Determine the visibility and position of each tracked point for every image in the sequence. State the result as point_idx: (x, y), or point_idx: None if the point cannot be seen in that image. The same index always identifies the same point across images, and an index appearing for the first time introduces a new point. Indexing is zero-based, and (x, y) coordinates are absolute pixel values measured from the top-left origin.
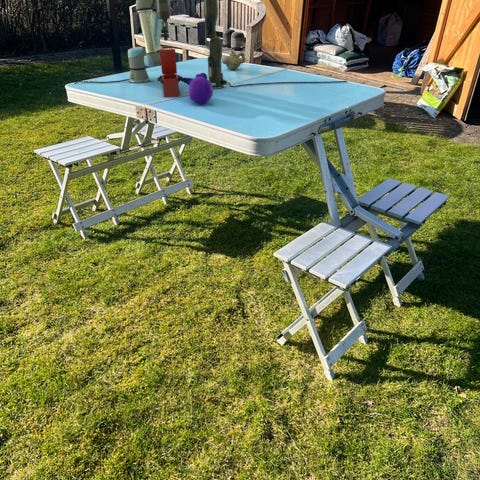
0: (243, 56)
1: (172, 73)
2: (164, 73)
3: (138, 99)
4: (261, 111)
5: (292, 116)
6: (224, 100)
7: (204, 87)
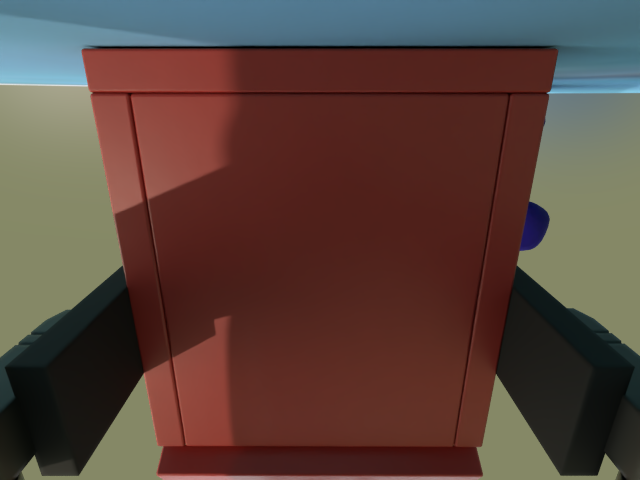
0: None
1: (380, 448)
2: (216, 449)
3: (11, 81)
4: (596, 91)
5: (619, 92)
6: (627, 87)
7: None
